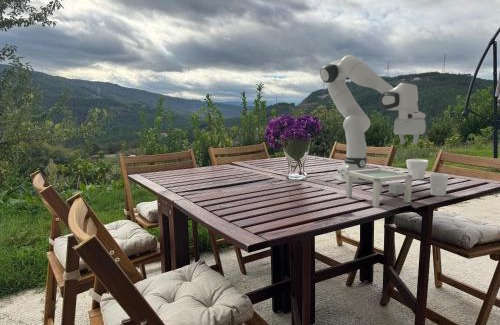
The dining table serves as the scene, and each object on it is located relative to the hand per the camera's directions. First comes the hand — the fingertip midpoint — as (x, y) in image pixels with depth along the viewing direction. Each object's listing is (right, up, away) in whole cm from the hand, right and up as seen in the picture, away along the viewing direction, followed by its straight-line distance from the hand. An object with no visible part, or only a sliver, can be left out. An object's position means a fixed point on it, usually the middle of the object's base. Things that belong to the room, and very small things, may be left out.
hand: (408, 143), depth 185 cm
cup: (+23, -19, +43) cm, 52 cm away
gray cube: (-4, -25, +4) cm, 26 cm away
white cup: (+15, -25, 0) cm, 29 cm away
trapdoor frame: (-19, -27, -9) cm, 34 cm away
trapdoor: (-19, -18, -10) cm, 27 cm away
